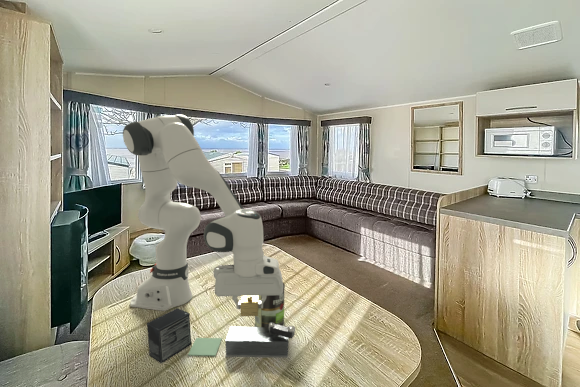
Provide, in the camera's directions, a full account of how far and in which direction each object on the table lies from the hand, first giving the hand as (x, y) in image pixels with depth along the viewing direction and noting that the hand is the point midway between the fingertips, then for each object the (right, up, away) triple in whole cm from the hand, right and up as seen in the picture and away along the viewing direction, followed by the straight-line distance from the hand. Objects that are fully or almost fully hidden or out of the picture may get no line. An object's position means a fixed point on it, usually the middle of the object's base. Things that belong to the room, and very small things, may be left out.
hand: (250, 307), depth 95 cm
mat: (-13, -12, 0) cm, 18 cm away
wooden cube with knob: (0, -1, 0) cm, 1 cm away
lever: (+10, -7, -3) cm, 12 cm away
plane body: (+2, -12, -1) cm, 12 cm away
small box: (-24, -12, -1) cm, 27 cm away
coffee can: (+5, -10, +13) cm, 17 cm away
